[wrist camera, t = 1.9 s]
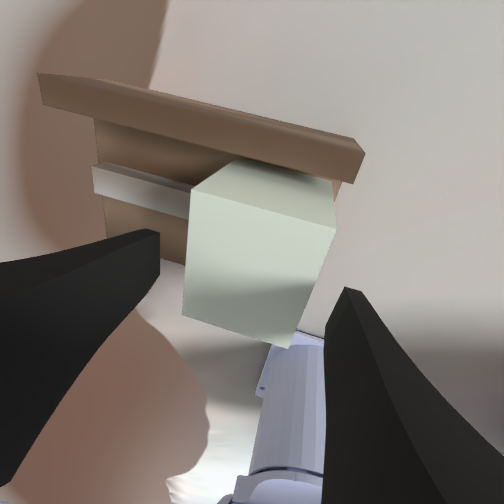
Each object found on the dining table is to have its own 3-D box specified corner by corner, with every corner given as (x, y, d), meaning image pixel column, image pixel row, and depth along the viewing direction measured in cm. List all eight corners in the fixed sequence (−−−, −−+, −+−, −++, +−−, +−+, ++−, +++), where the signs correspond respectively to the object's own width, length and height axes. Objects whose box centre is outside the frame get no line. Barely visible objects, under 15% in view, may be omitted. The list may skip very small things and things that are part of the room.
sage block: (298, 273, 17) (288, 349, 12) (223, 251, 17) (181, 314, 12) (331, 181, 14) (336, 229, 9) (238, 157, 14) (191, 189, 9)
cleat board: (299, 286, 19) (293, 332, 15) (120, 232, 20) (74, 263, 17) (353, 138, 14) (365, 153, 10) (108, 79, 15) (36, 73, 11)
